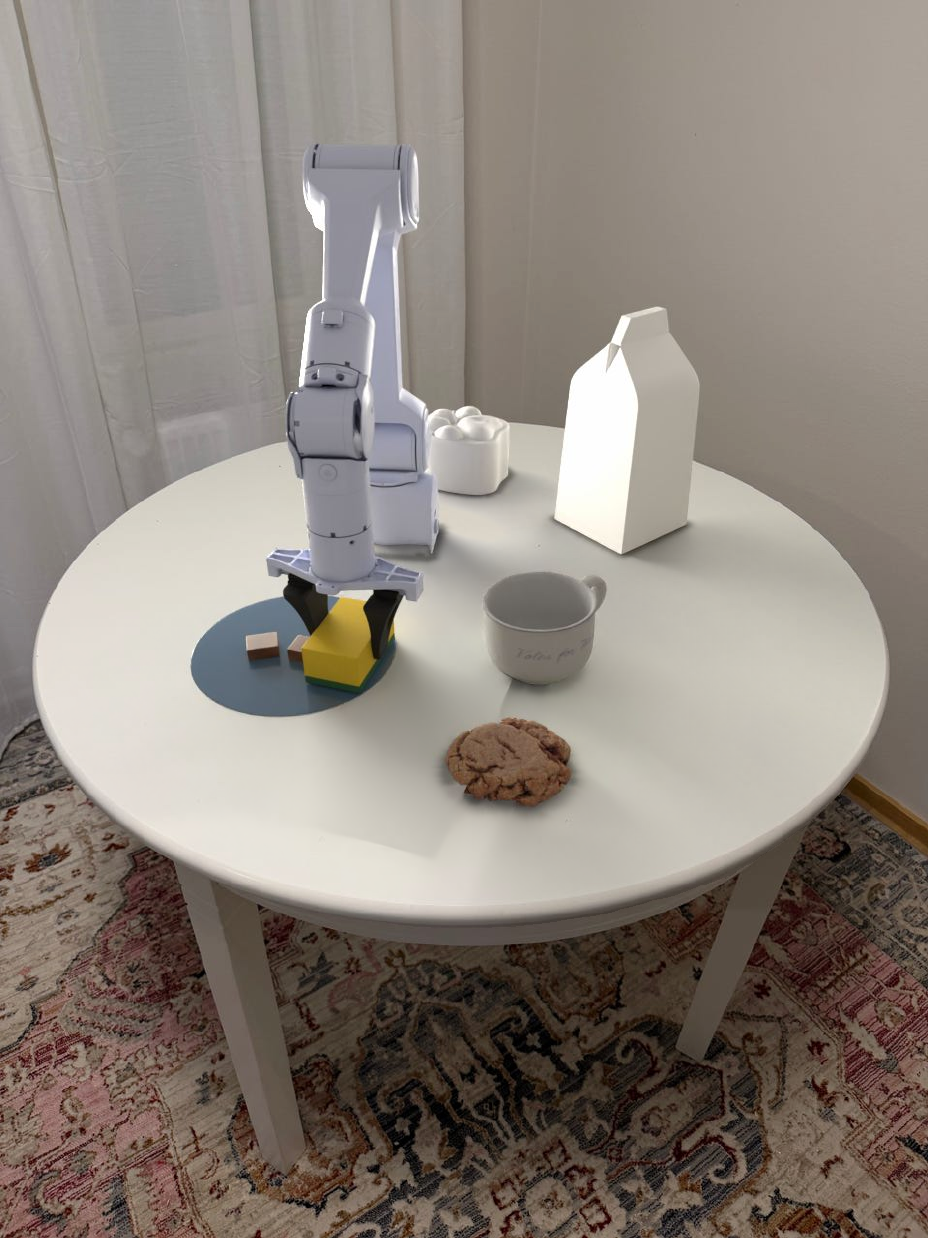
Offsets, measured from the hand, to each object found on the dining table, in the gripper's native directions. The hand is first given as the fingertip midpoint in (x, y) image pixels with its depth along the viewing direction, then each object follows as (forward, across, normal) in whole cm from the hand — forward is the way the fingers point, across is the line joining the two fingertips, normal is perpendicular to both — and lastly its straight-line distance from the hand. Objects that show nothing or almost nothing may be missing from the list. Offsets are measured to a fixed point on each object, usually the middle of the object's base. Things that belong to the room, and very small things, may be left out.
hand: (350, 647), depth 84 cm
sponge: (+1, 0, 0) cm, 1 cm away
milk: (+3, +20, +39) cm, 44 cm away
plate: (+3, -6, 0) cm, 7 cm away
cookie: (+3, +18, -9) cm, 20 cm away
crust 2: (+2, -4, 0) cm, 5 cm away
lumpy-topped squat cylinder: (+3, -4, +45) cm, 46 cm away
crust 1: (+2, -9, -1) cm, 9 cm away
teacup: (+3, +18, +8) cm, 20 cm away
